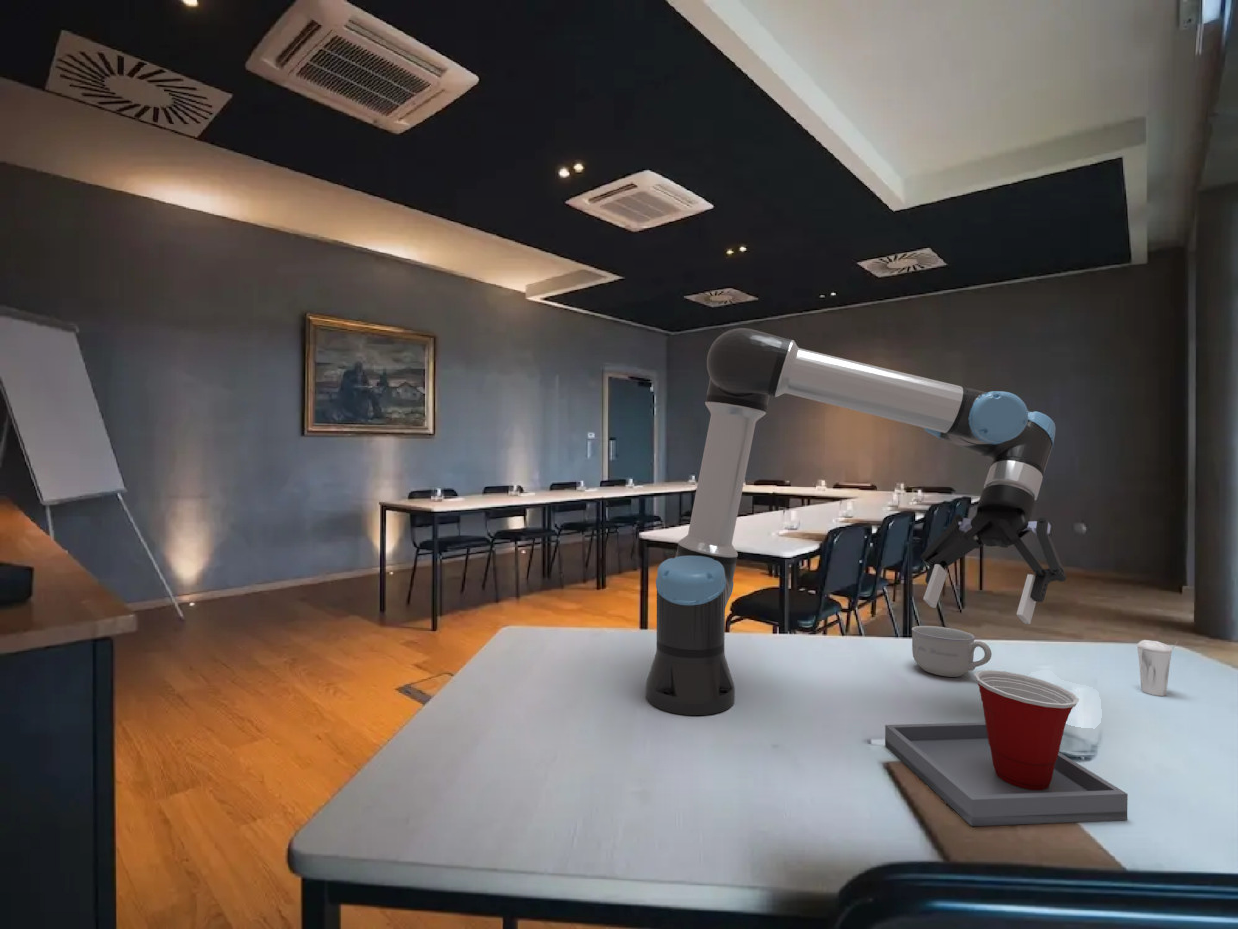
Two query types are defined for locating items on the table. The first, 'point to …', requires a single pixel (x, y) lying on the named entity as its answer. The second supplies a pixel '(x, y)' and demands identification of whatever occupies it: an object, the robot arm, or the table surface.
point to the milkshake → (1154, 666)
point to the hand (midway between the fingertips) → (973, 611)
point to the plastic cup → (1024, 725)
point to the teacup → (946, 650)
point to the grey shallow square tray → (999, 779)
